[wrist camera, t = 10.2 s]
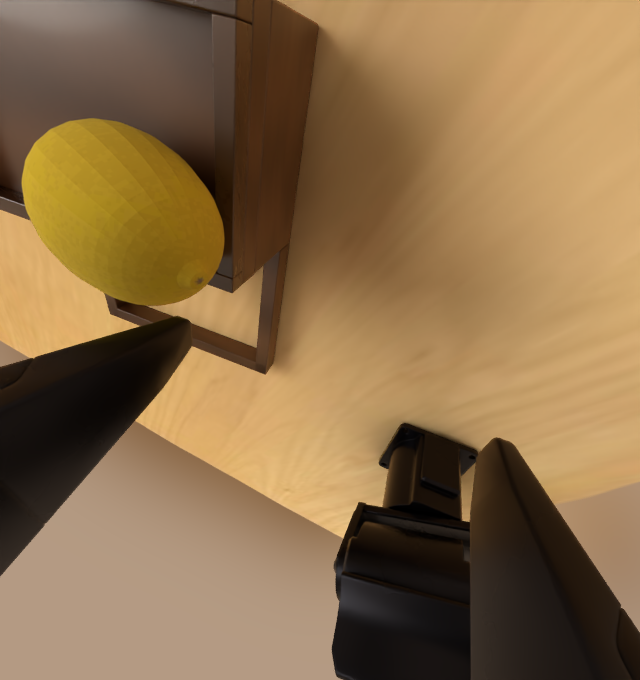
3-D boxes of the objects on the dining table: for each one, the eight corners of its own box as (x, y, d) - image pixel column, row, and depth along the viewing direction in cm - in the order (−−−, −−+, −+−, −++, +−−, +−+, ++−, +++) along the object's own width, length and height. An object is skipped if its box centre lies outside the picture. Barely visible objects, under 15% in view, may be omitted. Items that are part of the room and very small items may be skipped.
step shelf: (273, 363, 27) (230, 427, 22) (123, 305, 29) (50, 352, 24) (319, 24, 14) (236, -24, 8) (33, -44, 15) (-184, -119, 10)
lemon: (140, 89, 13) (279, 192, 10) (146, 218, 16) (249, 313, 14) (-60, 61, 9) (94, 214, 7) (8, 237, 13) (121, 371, 10)
